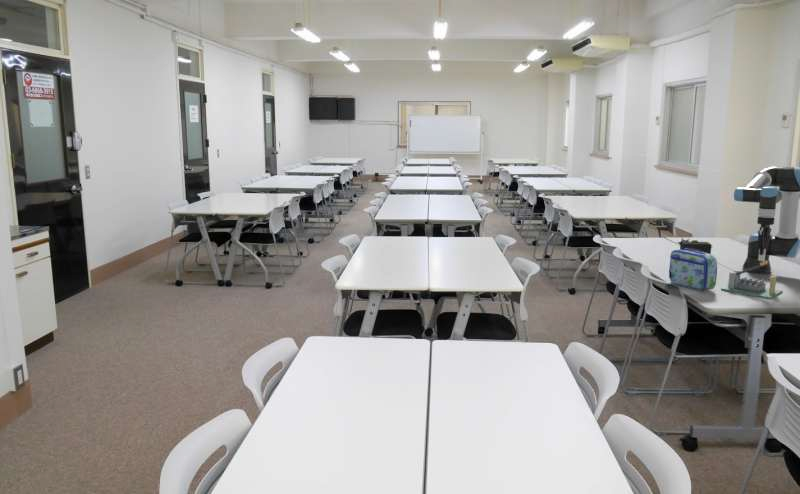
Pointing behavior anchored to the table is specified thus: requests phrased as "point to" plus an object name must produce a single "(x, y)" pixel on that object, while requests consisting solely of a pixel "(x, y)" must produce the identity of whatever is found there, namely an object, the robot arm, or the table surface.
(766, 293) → the board
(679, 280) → the lunch box
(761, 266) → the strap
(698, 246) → the router
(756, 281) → the heatsink
